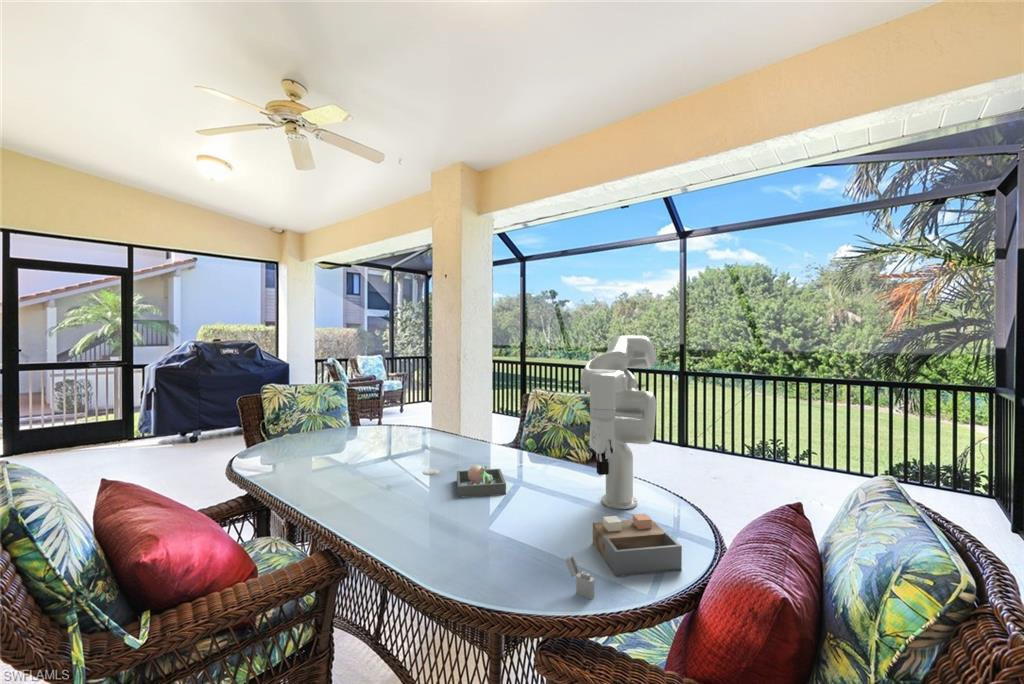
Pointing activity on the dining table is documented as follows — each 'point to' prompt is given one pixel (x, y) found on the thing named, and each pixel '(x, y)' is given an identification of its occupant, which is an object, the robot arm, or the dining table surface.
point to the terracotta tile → (642, 521)
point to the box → (644, 558)
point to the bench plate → (627, 536)
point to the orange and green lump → (479, 475)
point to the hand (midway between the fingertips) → (602, 473)
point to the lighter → (581, 579)
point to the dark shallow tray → (481, 488)
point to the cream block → (612, 523)
